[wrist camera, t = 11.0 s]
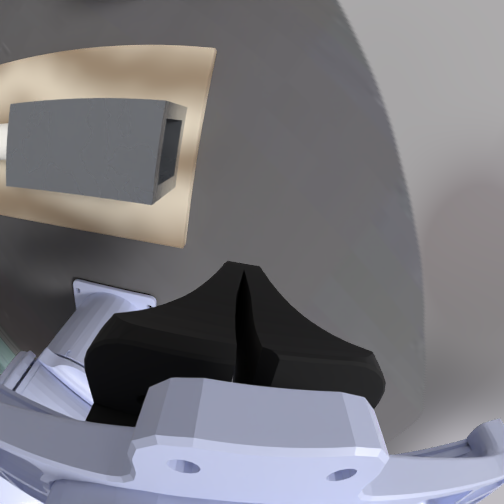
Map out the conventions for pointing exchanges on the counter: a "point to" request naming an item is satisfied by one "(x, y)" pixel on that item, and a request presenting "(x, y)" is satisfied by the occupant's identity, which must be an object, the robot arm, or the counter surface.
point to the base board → (113, 86)
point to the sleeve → (96, 147)
